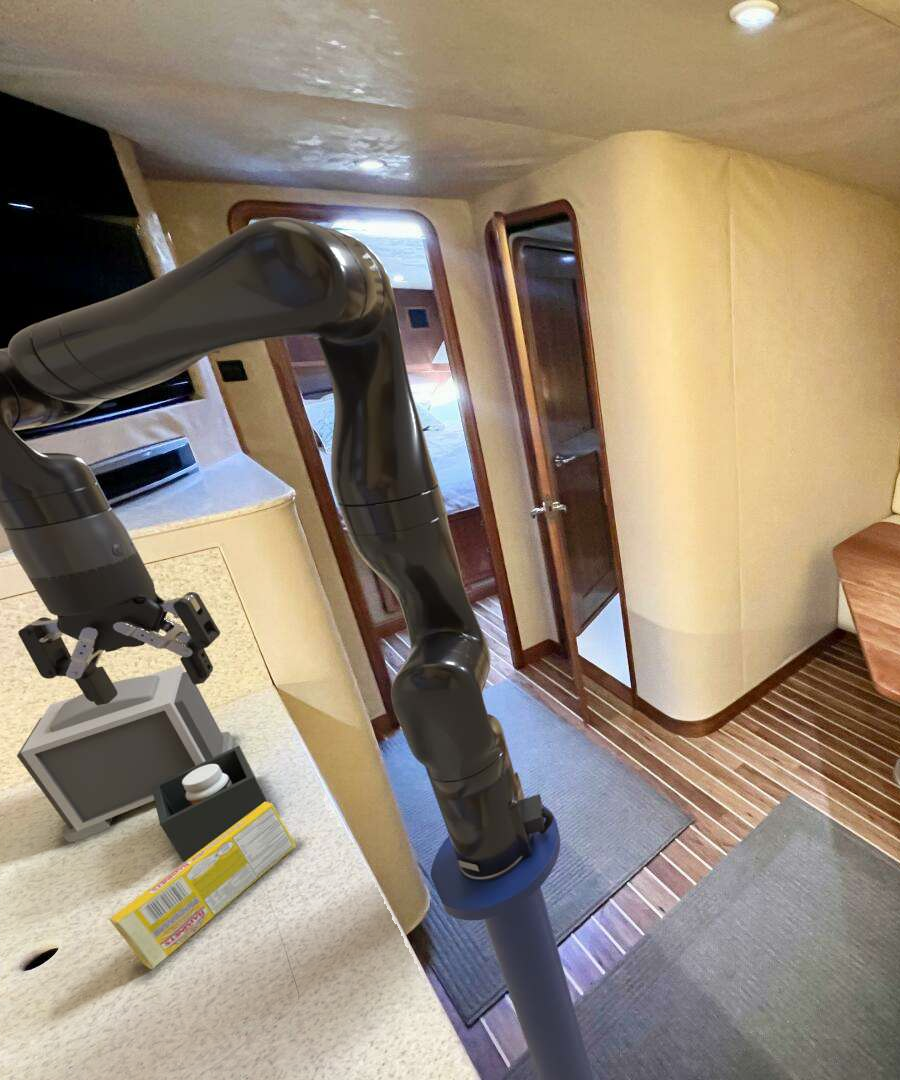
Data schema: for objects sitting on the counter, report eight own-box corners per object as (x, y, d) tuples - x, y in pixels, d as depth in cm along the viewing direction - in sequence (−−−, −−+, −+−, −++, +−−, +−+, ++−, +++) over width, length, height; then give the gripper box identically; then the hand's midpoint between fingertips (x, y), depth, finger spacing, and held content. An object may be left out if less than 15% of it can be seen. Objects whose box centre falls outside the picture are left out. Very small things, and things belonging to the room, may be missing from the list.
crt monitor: (233, 736, 97) (189, 651, 90) (229, 778, 87) (180, 687, 81) (87, 791, 87) (26, 700, 80) (65, 846, 77) (-8, 748, 70)
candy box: (287, 843, 75) (265, 799, 72) (297, 847, 75) (275, 803, 72) (141, 964, 61) (106, 917, 58) (152, 971, 61) (117, 923, 57)
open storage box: (273, 814, 80) (254, 776, 77) (184, 864, 73) (159, 824, 70) (257, 781, 86) (239, 745, 84) (174, 824, 80) (151, 786, 77)
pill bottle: (202, 836, 76) (177, 793, 73) (203, 816, 80) (178, 774, 77) (245, 816, 79) (222, 773, 76) (243, 798, 83) (221, 756, 80)
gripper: (189, 534, 59) (247, 657, 65) (20, 558, 55) (98, 687, 61) (148, 559, 52) (216, 693, 59) (-48, 589, 48) (47, 730, 54)
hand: (156, 690), depth 60 cm, fingers open, 8 cm apart
